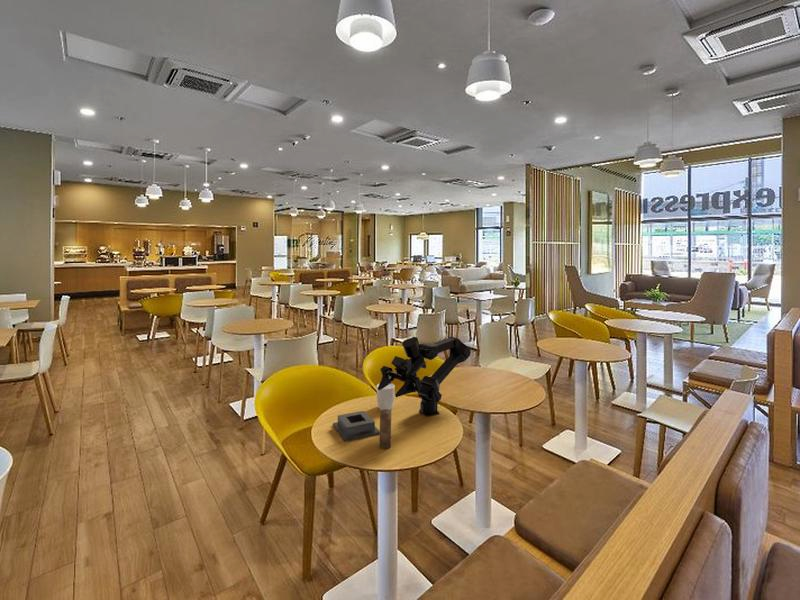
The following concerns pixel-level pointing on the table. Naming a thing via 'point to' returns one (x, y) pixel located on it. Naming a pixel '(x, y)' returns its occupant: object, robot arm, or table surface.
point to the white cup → (386, 397)
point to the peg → (385, 429)
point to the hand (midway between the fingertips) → (386, 392)
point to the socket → (355, 426)
